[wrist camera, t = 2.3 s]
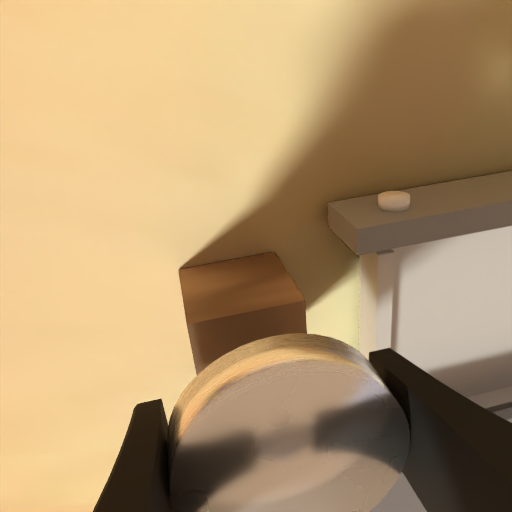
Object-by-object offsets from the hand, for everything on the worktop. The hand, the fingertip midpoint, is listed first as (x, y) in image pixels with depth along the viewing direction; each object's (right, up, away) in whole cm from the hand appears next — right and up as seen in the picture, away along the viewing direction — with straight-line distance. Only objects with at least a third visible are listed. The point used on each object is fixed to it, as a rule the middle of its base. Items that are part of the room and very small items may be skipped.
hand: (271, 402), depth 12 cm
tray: (+9, +2, +7) cm, 11 cm away
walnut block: (-1, +2, +5) cm, 5 cm away
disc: (0, 0, -1) cm, 1 cm away
